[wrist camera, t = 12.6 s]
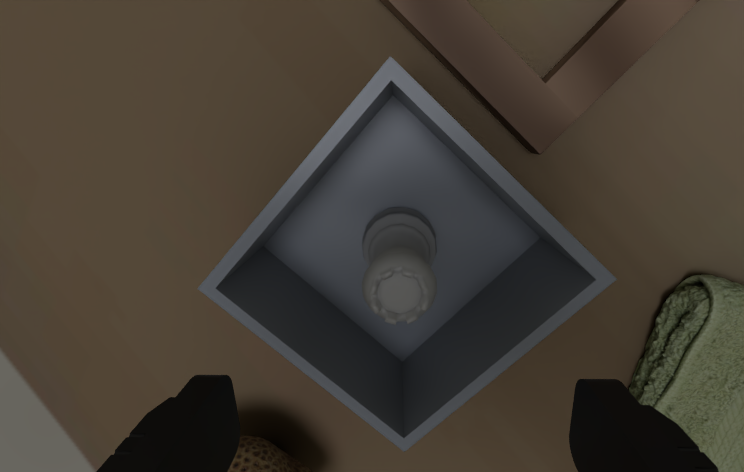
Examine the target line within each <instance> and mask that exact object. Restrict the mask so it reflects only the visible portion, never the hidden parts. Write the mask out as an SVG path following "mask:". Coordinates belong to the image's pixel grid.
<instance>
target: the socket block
mask: <svg viewBox="0 0 744 472" xmlns="http://www.w3.org/2000/svg"><path fill="white" fill-rule="evenodd" d="M380 1H381V2H382V3H383V4H384V5H385V6H386V7H387V8H388V9H389V10H390V11H391V12H392V13H393V14H394V15H395V16H396V17H397V18H398V19H399V20H400V21H401V22H402V23H403V24H404V25H405V26H406V27H407V28H408V29H409V30H410V31H411V32H412V33H413V34H414V35H415V36H416V37H417V38H418V39H419V40H420V41H421V42H422V43H423V44H424V45H425V46H426V47H427V48H428V49H429V50H430V51H431V52H432V53H433V54H434V55H435V56H436V57H437V58H438V59H439V60H440V61H441V62H442V63H443V64H444V65H445V66H446V67H447V68H448V69H449V71H450V72H451V73H452V74H453V75H454V76H455V77H456V78H457V79H458V80H459V81H460V82H461V83H462V84H463V85H464V86H465V87H466V88H467V89H468V90H469V91H470V92H471V93H472V94H473V95H474V96H475V97H476V98H477V99H478V100H479V101H480V102H481V103H482V104H483V105H484V106H485V107H486V108H487V109H488V110H489V111H490V112H491V113H492V114H493V115H494V116H495V117H496V118H497V119H498V120H499V121H500V122H501V123H502V124H503V125H504V126H505V127H506V128H507V129H508V130H509V131H510V132H511V133H512V134H513V135H514V136H515V137H516V138H517V139H518V140H519V141H520V142H521V143H522V144H523V145H524V146H525V147H526V148H527V149H528V150H529V151H530V152H531V153H536V154H541V153H542V152H543V151H545V150H546V149H547V148H548V147H549V146H550V145H551V144H552V143H553V142H554V141H555V140H556V139H557V138H558V137H559V136H560V135H561V134H562V133H563V132H564V131H565V130H566V129H567V128H568V127H569V126H570V125H571V124H572V123H573V122H574V121H575V120H576V119H578V118H579V117H580V116H581V115H582V114H583V113H584V112H585V111H586V110H587V109H588V108H589V107H590V106H591V105H592V104H593V103H594V102H595V101H596V100H597V99H598V98H599V97H600V96H601V95H602V94H603V93H604V92H605V91H606V90H607V89H608V88H609V87H611V86H612V85H613V84H614V83H615V82H616V81H617V80H618V79H619V78H620V77H621V76H622V75H623V74H624V73H625V72H626V71H627V70H628V69H629V68H630V67H631V66H632V65H633V64H634V63H635V62H636V61H637V60H638V59H639V58H640V57H641V56H642V55H643V54H645V53H646V52H647V51H648V50H649V49H650V48H651V47H652V46H653V45H654V44H655V43H656V42H657V41H658V40H659V39H660V38H661V37H662V36H663V35H664V34H665V33H666V32H667V31H668V30H669V29H670V28H671V27H672V26H673V25H674V24H675V23H676V22H678V21H679V20H680V19H681V18H682V17H683V16H684V15H685V14H686V13H687V12H688V11H689V10H690V9H691V8H692V7H693V6H694V5H695V4H696V3H697V2H698V1H699V0H619V1H618V2H617V3H616V4H615V5H614V6H613V7H612V8H611V9H610V10H609V11H608V12H607V13H606V14H605V15H604V16H603V17H602V18H601V19H600V20H599V21H598V22H597V23H596V24H595V25H594V26H593V27H592V29H591V30H590V31H589V32H588V33H587V34H586V35H585V36H584V37H583V38H582V39H581V40H580V41H579V42H578V43H577V44H576V45H575V46H574V47H573V48H572V49H571V50H570V51H569V52H568V53H567V54H566V55H565V56H564V57H563V58H562V59H561V61H560V62H559V63H558V64H557V65H556V66H555V67H554V68H553V69H552V70H551V71H550V72H549V73H548V74H547V75H546V76H545V77H544V78H543V79H541V78H540V77H539V76H538V75H537V74H536V73H535V72H534V71H533V70H532V69H531V68H530V67H529V66H528V65H527V64H526V63H525V62H524V60H523V59H522V58H521V57H520V56H519V55H518V54H517V53H516V52H515V51H514V50H513V49H512V48H511V47H510V46H509V45H508V44H507V43H506V42H505V40H504V39H503V38H502V37H501V36H500V35H499V34H498V33H497V32H496V31H495V30H494V29H493V28H492V27H491V26H490V25H489V24H488V23H487V21H486V20H485V19H484V18H483V17H482V16H481V15H480V14H479V13H478V12H477V11H476V10H475V9H474V8H473V7H472V6H471V5H470V4H469V3H468V1H467V0H380Z"/></svg>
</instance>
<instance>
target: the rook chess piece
mask: <svg viewBox="0 0 744 472" xmlns="http://www.w3.org/2000/svg"><path fill="white" fill-rule="evenodd" d="M362 248H363V257H364V259H365V261H366V263H367V264H368V266H369V267H368V269H367V270H366V271H365V274H364V278H363V281H362V291H363V298H364V299H365V301H366V303H367V305H368V306H369V308H370V309H371V310H372V311H373V312H374V313H375V315H376V314H377V315H378V316H380V317H381V318H384V319H385V322H387V323H390V324H394V325H396V322H401V321H407V324H410V323H412V322H415V321H417V320H418V317H420V316H422V315H423V314H424V313H425V312H426V311H427V310H428V309H429V308H430V307H431V306H432V305H433V302H434V300H435V297H436V294H437V280H436V277H435V275H434V273H433V271H432V269H431V266H432V264H433V261H434V258H435V255H436V253H437V249H436V233H435V231H434V230H433V228H432V226H431V224H430V222H429V220H427V219H426V218H425V217H424V216H423V215H421V214H420V213H419V212H418V211H414V210H411V209H408V208H405V207H400V208H389V209H387V210H385V211H383V212H381V213H379V214H377V215H375V216H374V218H373V219H372V220H371V221H370V222H369V224H368V225H367V226H366V229H365V232H364V235H363V239H362Z"/></svg>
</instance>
